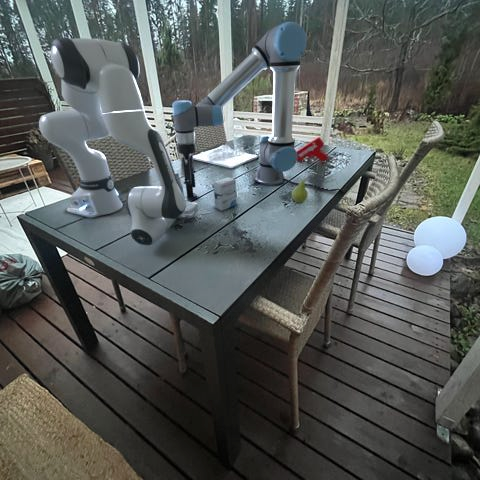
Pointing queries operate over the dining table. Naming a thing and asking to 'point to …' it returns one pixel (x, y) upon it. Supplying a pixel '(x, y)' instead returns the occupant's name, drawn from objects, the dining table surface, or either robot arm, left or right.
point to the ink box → (225, 193)
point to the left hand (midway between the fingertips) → (178, 199)
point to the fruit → (300, 192)
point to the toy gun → (312, 150)
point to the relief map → (225, 156)
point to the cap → (193, 197)
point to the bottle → (178, 180)
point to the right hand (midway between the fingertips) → (191, 192)
